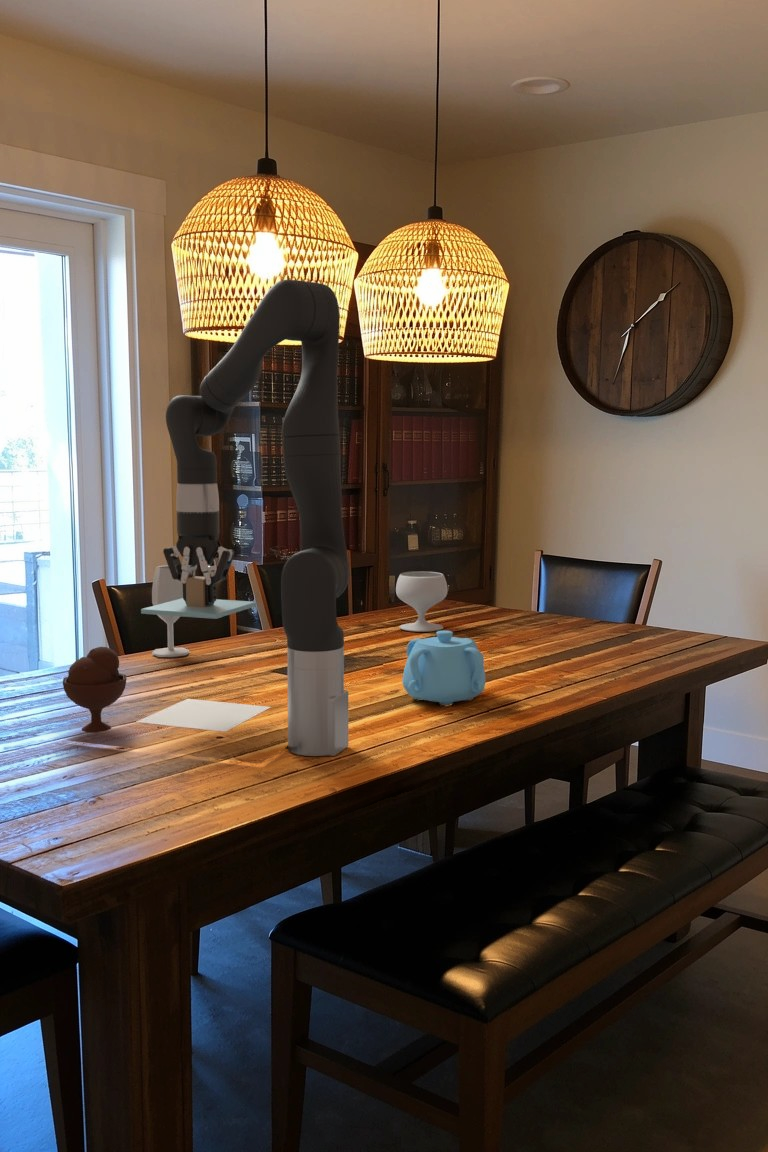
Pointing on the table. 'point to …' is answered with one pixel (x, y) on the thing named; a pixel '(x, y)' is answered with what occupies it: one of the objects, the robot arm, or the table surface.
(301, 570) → the robot arm
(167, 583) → the wineglass
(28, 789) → the table surface
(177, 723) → the mat
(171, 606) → the cover sheet
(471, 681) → the decorative pot
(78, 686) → the ice cream bowl
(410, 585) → the chalice
